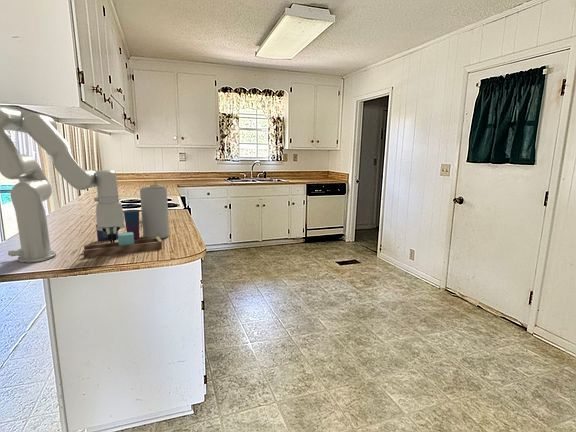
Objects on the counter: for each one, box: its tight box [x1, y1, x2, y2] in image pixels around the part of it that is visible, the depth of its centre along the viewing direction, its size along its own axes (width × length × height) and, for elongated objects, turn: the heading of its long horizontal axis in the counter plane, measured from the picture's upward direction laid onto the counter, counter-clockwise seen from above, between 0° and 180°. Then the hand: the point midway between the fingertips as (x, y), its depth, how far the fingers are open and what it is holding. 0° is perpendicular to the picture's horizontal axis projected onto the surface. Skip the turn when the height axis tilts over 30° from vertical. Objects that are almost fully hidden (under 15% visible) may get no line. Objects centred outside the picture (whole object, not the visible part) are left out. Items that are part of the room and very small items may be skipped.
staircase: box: [149, 179, 165, 187], centre depth 213 cm, size 8×12×26 cm
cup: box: [123, 209, 140, 240], centre depth 164 cm, size 7×7×15 cm
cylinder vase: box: [139, 186, 170, 240], centre depth 171 cm, size 12×12×25 cm
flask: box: [95, 224, 119, 242], centre depth 163 cm, size 9×3×11 cm, turn 135°
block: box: [117, 231, 134, 246], centre depth 147 cm, size 6×5×7 cm
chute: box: [82, 237, 163, 259], centre depth 147 cm, size 30×10×4 cm, turn 118°
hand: (112, 242), depth 144 cm, fingers closed
